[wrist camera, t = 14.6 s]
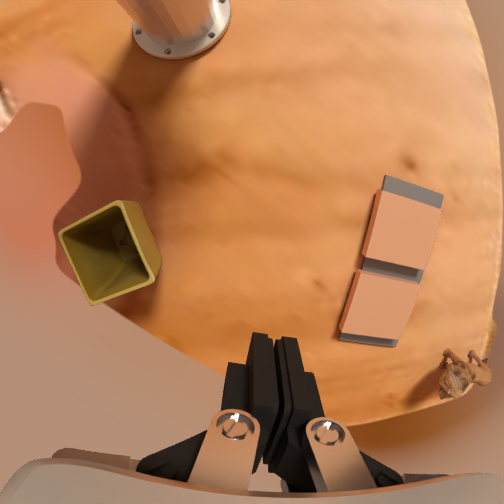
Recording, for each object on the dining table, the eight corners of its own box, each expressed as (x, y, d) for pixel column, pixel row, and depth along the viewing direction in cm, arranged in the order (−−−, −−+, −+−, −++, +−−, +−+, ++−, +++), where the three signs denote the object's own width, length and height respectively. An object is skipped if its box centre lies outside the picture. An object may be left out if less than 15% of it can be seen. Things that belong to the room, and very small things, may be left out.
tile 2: (382, 190, 33) (442, 209, 34) (376, 189, 35) (435, 208, 35) (365, 256, 35) (425, 270, 36) (361, 253, 37) (420, 266, 37)
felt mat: (384, 175, 35) (386, 175, 35) (442, 194, 35) (443, 195, 35) (338, 338, 40) (339, 339, 40) (394, 345, 41) (395, 346, 40)
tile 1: (360, 272, 36) (421, 285, 36) (356, 268, 38) (415, 280, 38) (341, 332, 38) (400, 340, 38) (338, 326, 39) (395, 334, 40)
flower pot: (178, 258, 38) (156, 283, 29) (120, 280, 39) (89, 307, 30) (150, 192, 36) (120, 198, 27) (94, 219, 37) (56, 232, 28)
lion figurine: (418, 376, 42) (442, 410, 33) (429, 347, 41) (456, 379, 32) (480, 369, 42) (505, 396, 34) (491, 343, 41) (519, 368, 32)
